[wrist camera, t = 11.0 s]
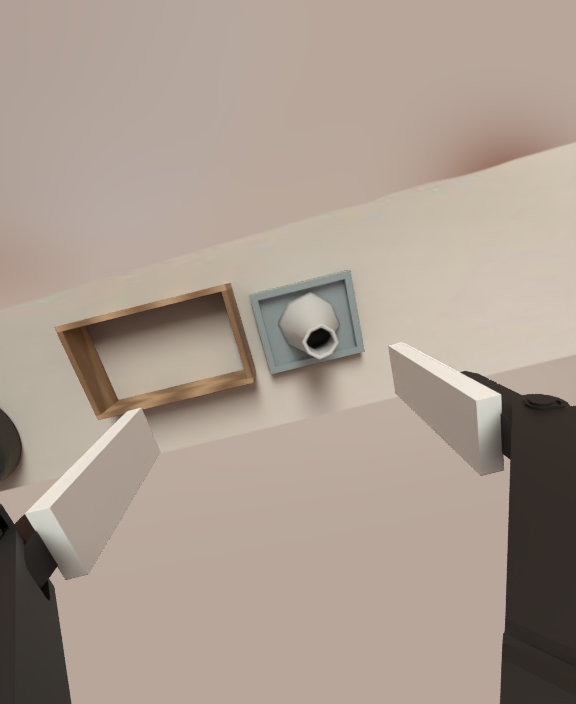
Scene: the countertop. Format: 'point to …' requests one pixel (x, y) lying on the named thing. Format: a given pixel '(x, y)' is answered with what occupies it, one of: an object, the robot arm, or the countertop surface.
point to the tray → (275, 300)
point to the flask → (310, 325)
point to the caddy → (109, 406)
